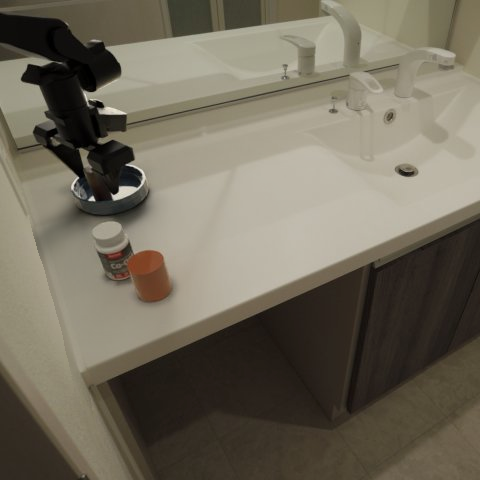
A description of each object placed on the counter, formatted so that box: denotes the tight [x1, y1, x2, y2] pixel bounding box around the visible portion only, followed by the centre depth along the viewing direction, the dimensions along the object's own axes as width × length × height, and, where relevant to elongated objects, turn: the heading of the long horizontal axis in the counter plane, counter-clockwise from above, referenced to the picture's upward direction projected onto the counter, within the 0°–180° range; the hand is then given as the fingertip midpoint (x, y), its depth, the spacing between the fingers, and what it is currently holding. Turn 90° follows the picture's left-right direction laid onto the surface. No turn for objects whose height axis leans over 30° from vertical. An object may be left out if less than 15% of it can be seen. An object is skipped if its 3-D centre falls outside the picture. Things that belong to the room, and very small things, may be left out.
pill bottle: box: [91, 221, 135, 281], centre depth 63 cm, size 5×5×8 cm
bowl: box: [70, 163, 150, 216], centre depth 79 cm, size 13×13×3 cm
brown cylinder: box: [83, 164, 113, 201], centre depth 76 cm, size 3×3×7 cm
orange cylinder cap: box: [127, 249, 173, 303], centre depth 62 cm, size 5×5×6 cm
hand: (98, 185), depth 76 cm, fingers open, 9 cm apart
